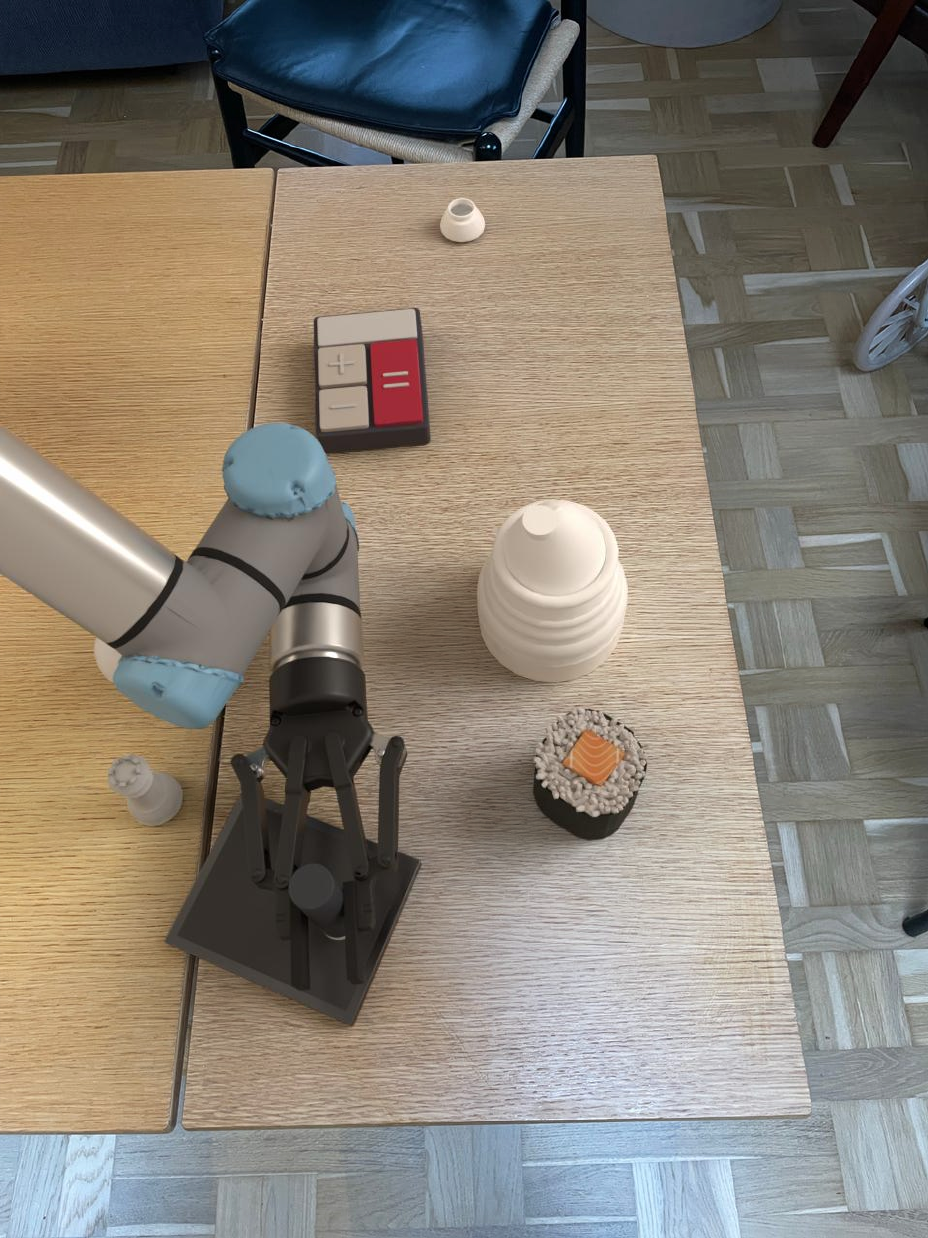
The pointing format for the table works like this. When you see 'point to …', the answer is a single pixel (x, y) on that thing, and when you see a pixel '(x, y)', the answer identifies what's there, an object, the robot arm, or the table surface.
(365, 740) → the robot arm
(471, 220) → the lidless jar
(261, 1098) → the table surface
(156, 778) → the rook chess piece
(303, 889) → the marker
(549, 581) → the honey pot
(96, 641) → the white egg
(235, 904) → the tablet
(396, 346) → the calculator
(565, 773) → the sushi
